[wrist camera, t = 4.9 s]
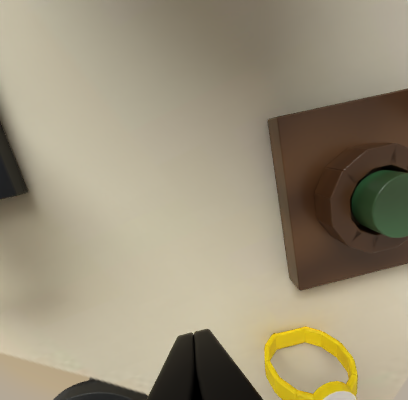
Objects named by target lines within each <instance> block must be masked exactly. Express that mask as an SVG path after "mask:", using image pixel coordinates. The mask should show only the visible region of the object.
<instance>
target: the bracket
mask: <svg viewBox="0 0 408 400" xmlns="http://www.w3.org/2000/svg"><path fill="white" fill-rule="evenodd" d="M26 192H28V190H27V188H26V185H25V183H24V180H23V178H22V175H21V173H20V170H19V168H18V165H17V163H16V160H15V158H14V155H13V152H12V150H11V147H10V145H9V142H8V140H7V137H6V135H5V132H4V130H3V127H2V125H1V122H0V199H4V198H9V197H13V196H17V195H20V194H23V193H26Z"/></svg>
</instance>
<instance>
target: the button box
mask: <svg viewBox="0 0 408 400" xmlns="http://www.w3.org/2000/svg"><path fill="white" fill-rule="evenodd" d="M268 127H269V134H270V141H271V148H272V156H273V163H274V170H275V177H276V184H277V191H278V199H279V206H280V213H281V220H282V227H283V234H284V242H285V249H286V256H287V263H288V270H289V277H290V279H291V281H292V282H293V283H294V284H295V285H296V287H297V288H298V289H299V290H304V289H308V288H312V287H316V286H320V285H324V284H328V283H332V282H336V281H340V280H344V279H348V278H352V277H356V276H360V275H363V274H367V273H371V272H375V271H379V270H383V269H387V268H391V267H395V266H399V265H403V264H407V263H408V236H406V237H402V238H391V237H387V236H385V235H382V234H380V233H378V232H376V231H374V230H371V229H369V228H367V227H365V226H363V225H361V224H360V223H359V222H358V221H357V220H356V219H355V217H354V215H353V212H352V207H351V202H352V197H353V193H354V191H355V189H356V187H357V186H358V184H359V183H360V182H361V181H362V180H363V179H364V178H365V177H367V176H368V175H370V174H372V173H374V172H377V171H381V170H390V171H398V172H405V173H408V89H404V90H399V91H395V92H390V93H385V94H381V95H376V96H372V97H367V98H362V99H358V100H353V101H348V102H344V103H339V104H335V105H330V106H325V107H321V108H316V109H311V110H307V111H302V112H297V113H293V114H288V115H284V116H279V117H275V118H271V119H268Z"/></svg>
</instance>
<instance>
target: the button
mask: <svg viewBox="0 0 408 400" xmlns="http://www.w3.org/2000/svg"><path fill="white" fill-rule="evenodd" d="M351 207H352V212H353V215H354V217H355V219H356V220H357V221H358V222H359V223H360V224H361V225H363V226H365V227H367V228H369V229H371V230H374V231H376V232H378V233H380V234H382V235H385V236H387V237H391V238H402V237H406V236H408V173H405V172H398V171H390V170H381V171H377V172H374V173H372V174H370V175H368V176H367V177H365V178H364V179H363V180H362V181H361V182H360V183H359V184H358V186H357V187H356V189H355V191H354V193H353V197H352V202H351Z"/></svg>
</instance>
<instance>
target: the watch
mask: <svg viewBox="0 0 408 400" xmlns="http://www.w3.org/2000/svg"><path fill="white" fill-rule="evenodd" d="M304 342H306V343H309V344H313V345H316V346H319V347H322V348H323V349H325V350H326V351H328V352H329V353H331V354H332V355H334V356H335V357H337V359H338V360H339V361H340V363H341V364H342V365H343V367H344V368H345V369H346V371H347V372H348V377H349V379H348V381H347V383H346V384H345V383H343V382H339V381H334V382H329V383H326V384H324V385H322V386H321V387H319V388H318V389H317V390H316V391H315V392H314V393H313V394H312V393H308V392H304V391H300V390H297V389H296V388H294V387H293V386H291V385H290V384H289V383H287V382H286V381H284V380H283V379H281V378H280V377H279V375H278V374H277V372H276V370H275V369H274V367H273V366H272V364H271V362H270V360H271V358H272V357H273V355H274V353H275V352H276V350H277V349H281V348H285V347H289V346H293V345H296V344H300V343H304ZM264 350H265V371H266V377H267V379H268V381H269V383H270V384H271V386H272V388H273V390H274V392H275V393H276V394H277V395H278V396H279V397H280V398H281V399H282V400H357V398H356V394H357V381H358V375H357V370H356V366H355V361H354V359H353V357H352V356H351V354H350V353H349V352H348V351H347V349H346V348H345V347H344V346H343V344H342V343H340V342H339V341H338V340H336V339H334V338H333V337H331V336H330V335H328V334H326V333H325V332H322V331H320V330H317V329H313V328H309V327H302V328H298V329H294V330H290V331H286V332H281V333H277V334H275V333H273V335H271V337H270V338H269V340H268V341H267V343H266V344H265V347H264Z"/></svg>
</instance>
